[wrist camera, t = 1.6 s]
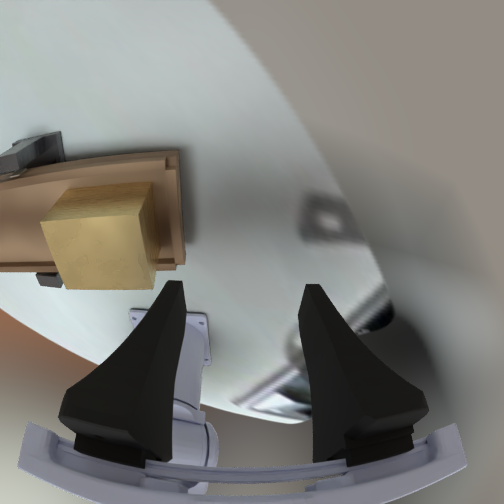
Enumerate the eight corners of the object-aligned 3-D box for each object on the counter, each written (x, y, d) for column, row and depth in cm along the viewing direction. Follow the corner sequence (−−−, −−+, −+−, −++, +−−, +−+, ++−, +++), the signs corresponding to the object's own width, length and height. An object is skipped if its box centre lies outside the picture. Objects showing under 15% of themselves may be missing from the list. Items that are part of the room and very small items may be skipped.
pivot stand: (90, 258, 23) (72, 289, 20) (49, 256, 22) (30, 284, 19) (60, 131, 16) (28, 150, 13) (16, 141, 15) (-15, 160, 12)
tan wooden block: (160, 248, 19) (153, 289, 16) (84, 250, 18) (66, 289, 15) (152, 181, 16) (138, 214, 13) (67, 189, 15) (39, 222, 12)
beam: (185, 255, 21) (184, 271, 20) (-29, 261, 18) (-37, 272, 17) (178, 148, 16) (175, 158, 15) (-56, 191, 13) (-67, 201, 12)
